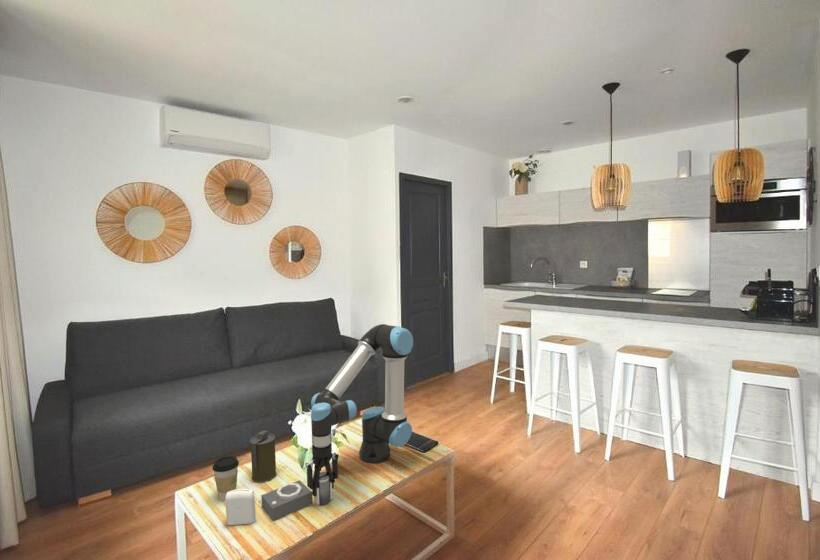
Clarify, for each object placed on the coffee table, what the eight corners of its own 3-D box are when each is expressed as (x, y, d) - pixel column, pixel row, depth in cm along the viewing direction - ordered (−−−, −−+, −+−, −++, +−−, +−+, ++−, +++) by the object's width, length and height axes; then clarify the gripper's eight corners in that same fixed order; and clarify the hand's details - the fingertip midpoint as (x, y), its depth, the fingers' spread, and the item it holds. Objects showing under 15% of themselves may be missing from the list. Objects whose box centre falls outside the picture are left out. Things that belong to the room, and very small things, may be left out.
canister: (262, 468, 193) (260, 426, 191) (281, 472, 189) (279, 429, 188) (245, 481, 182) (243, 436, 181) (265, 485, 179) (263, 439, 177)
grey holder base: (300, 491, 174) (299, 477, 173) (312, 504, 165) (312, 489, 165) (261, 507, 164) (261, 492, 163) (272, 521, 155) (272, 505, 155)
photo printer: (224, 526, 152) (223, 494, 152) (228, 519, 157) (227, 487, 156) (254, 524, 153) (252, 492, 153) (257, 517, 158) (255, 485, 157)
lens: (326, 496, 170) (325, 470, 170) (332, 502, 166) (331, 475, 166) (314, 501, 167) (313, 474, 166) (320, 507, 163) (319, 480, 162)
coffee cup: (245, 494, 172) (243, 459, 171) (223, 506, 164) (221, 470, 163) (231, 487, 178) (229, 452, 177) (209, 498, 170) (207, 462, 169)
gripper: (337, 433, 174) (338, 487, 175) (296, 447, 162) (298, 504, 164) (346, 439, 168) (347, 495, 170) (304, 454, 156) (306, 514, 158)
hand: (323, 499), depth 167 cm, fingers closed on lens, 5 cm apart
